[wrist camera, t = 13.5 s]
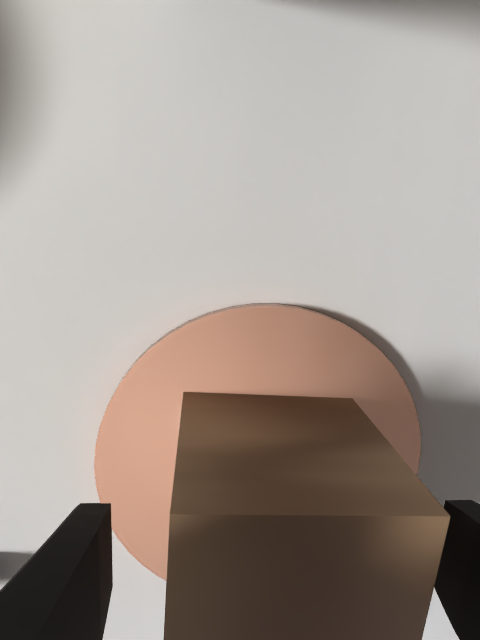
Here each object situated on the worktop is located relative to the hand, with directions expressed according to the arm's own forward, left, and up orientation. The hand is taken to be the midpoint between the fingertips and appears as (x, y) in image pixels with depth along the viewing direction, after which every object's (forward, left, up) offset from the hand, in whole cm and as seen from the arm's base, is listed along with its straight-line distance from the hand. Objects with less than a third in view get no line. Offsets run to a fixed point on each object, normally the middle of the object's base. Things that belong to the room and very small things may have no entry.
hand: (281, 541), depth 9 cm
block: (0, 0, -3) cm, 3 cm away
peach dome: (0, 0, -3) cm, 3 cm away
